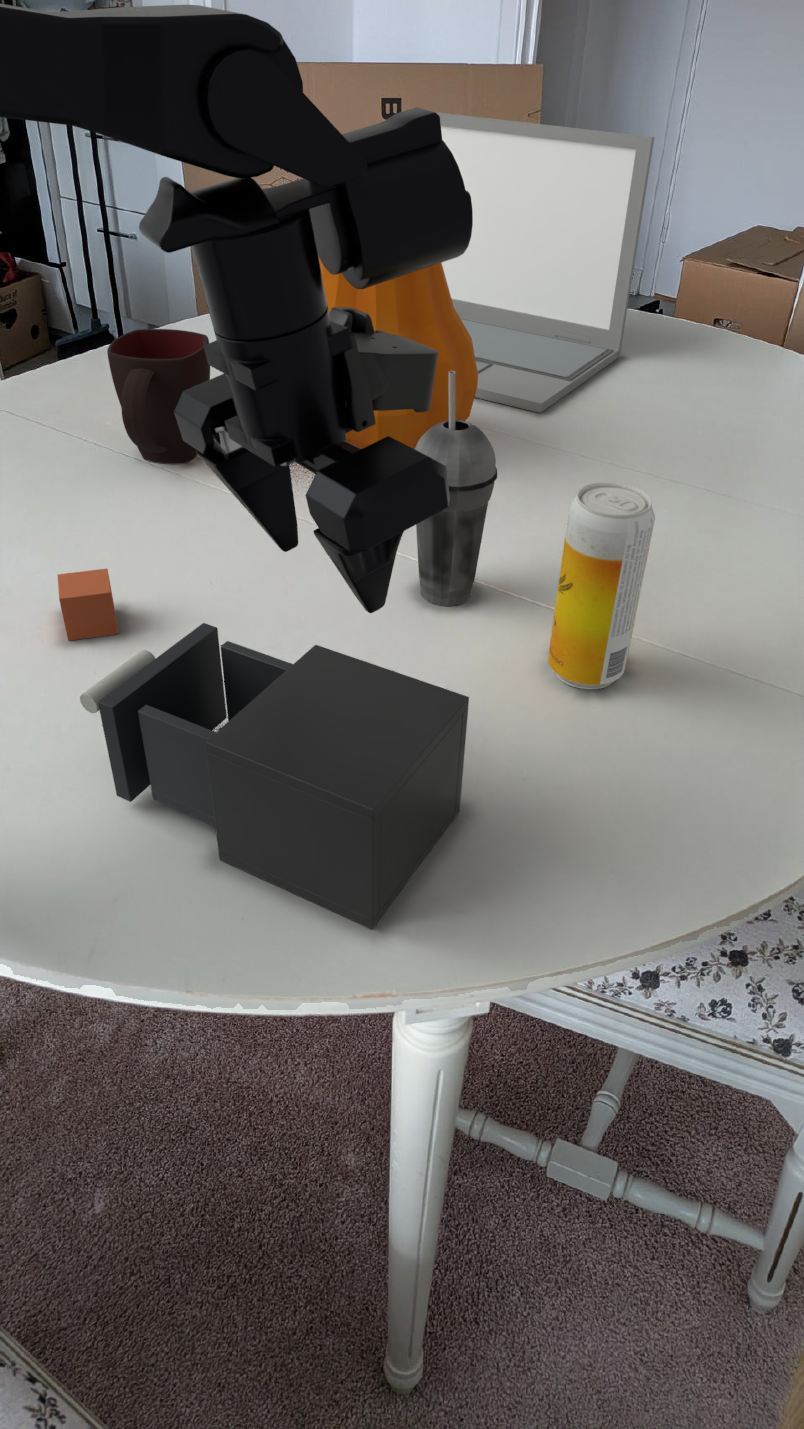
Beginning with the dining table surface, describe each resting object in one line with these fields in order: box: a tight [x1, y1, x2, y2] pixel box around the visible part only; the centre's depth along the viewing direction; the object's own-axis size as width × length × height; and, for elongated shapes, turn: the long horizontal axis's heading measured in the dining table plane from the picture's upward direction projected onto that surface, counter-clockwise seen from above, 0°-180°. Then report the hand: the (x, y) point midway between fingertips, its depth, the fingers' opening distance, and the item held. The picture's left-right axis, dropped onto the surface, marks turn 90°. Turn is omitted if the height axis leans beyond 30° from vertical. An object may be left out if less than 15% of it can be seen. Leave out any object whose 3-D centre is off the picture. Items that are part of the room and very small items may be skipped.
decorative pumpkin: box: [318, 256, 478, 449], centre depth 104 cm, size 24×24×30 cm
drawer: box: [79, 622, 294, 828], centre depth 66 cm, size 14×10×8 cm
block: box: [57, 568, 119, 642], centre depth 82 cm, size 4×4×4 cm
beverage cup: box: [415, 371, 498, 607], centre depth 82 cm, size 7×7×20 cm
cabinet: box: [205, 644, 470, 930], centre depth 61 cm, size 11×12×10 cm
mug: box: [106, 328, 211, 465], centre depth 106 cm, size 10×14×12 cm
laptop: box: [434, 111, 655, 414], centre depth 130 cm, size 35×26×27 cm
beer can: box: [547, 481, 656, 690], centre depth 75 cm, size 6×6×15 cm
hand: (330, 577), depth 59 cm, fingers open, 9 cm apart
